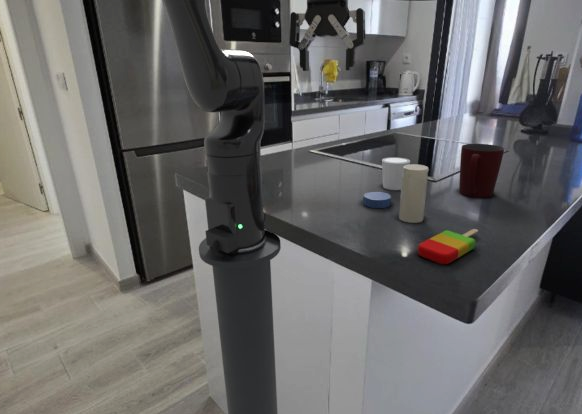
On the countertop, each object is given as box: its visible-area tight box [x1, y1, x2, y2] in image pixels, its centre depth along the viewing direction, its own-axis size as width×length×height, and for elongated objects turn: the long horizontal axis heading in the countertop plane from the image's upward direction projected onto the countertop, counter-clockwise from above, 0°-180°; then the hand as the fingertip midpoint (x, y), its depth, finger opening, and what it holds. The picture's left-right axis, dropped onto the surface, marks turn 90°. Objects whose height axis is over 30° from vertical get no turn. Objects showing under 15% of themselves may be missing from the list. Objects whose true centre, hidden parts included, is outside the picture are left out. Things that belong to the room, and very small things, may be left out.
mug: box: [458, 143, 505, 199], centre depth 88 cm, size 12×9×11 cm
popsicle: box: [417, 228, 479, 265], centre depth 64 cm, size 6×15×2 cm, turn 131°
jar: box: [398, 163, 430, 224], centre depth 75 cm, size 5×5×11 cm
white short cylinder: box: [381, 156, 411, 191], centre depth 95 cm, size 7×7×7 cm
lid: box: [362, 191, 392, 209], centre depth 85 cm, size 6×6×2 cm
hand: (326, 70), depth 74 cm, fingers open, 8 cm apart
